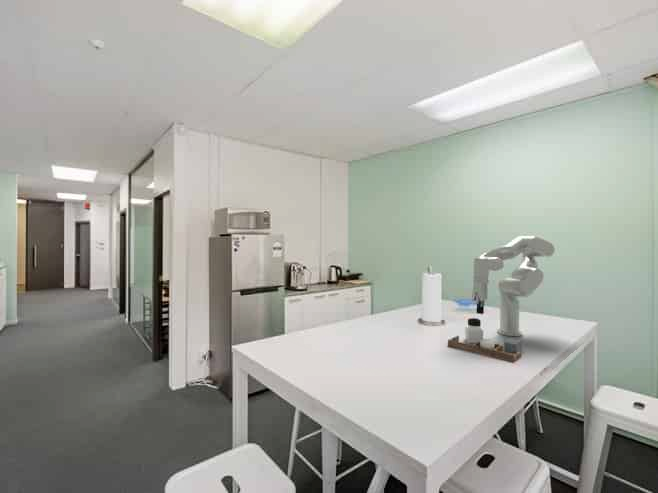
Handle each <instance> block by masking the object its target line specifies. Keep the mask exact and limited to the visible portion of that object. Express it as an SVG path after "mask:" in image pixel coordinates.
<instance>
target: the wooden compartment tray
mask: <svg viewBox="0 0 658 493" xmlns="http://www.w3.org/2000/svg"><path fill="white" fill-rule="evenodd" d="M459 340H460V337H459V335H456V336H454V337H452V338H449V339H448V340H447V347H451V348H455V349H458V350H463V351H468V352H471V353H474V354H475V353H476V354H479V355H484V356H488V357H492V358H495V359H501V360H504V361H509V362H513V363H514V362H515V361H517V360H518V359H519V358H520V357H522V351H518V352H517V353H516V354H515V355H514V354H510V353H505V352H504V349H503V348H504V347H503V346H504V344H499V343H495V347H494V350H492V349H488V348H483V347H480V341H479V342H477V343H473V344H471V343H466V342H460V341H459Z"/></svg>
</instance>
